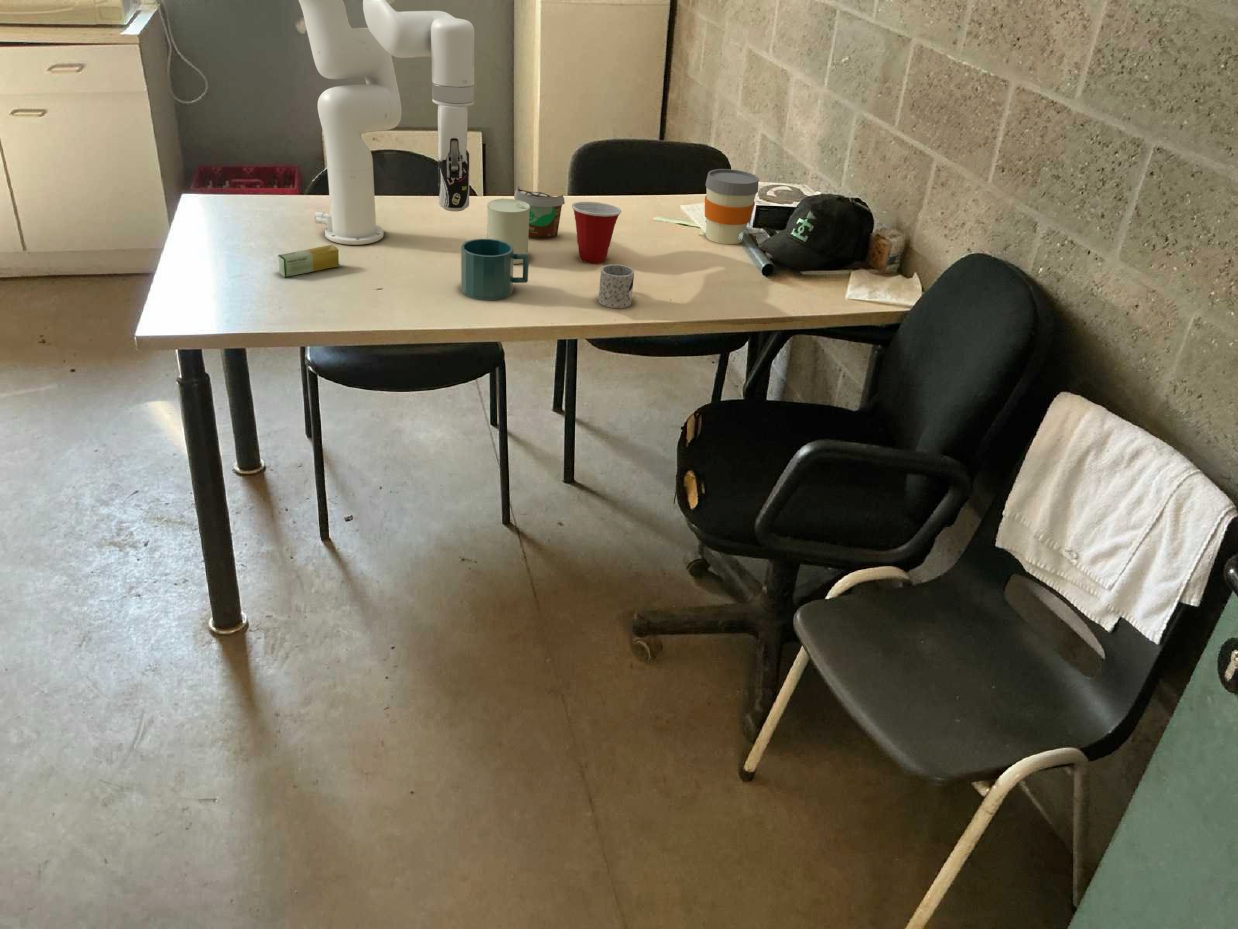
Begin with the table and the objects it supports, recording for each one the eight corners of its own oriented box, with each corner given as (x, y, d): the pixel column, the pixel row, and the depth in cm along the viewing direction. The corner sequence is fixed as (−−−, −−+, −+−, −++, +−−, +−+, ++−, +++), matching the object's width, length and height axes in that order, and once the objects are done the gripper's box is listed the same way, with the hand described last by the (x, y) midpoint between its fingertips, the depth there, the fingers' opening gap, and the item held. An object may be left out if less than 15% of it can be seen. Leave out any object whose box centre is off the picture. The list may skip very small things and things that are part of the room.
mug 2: (635, 307, 194) (638, 276, 190) (603, 308, 192) (606, 276, 188) (621, 288, 202) (623, 258, 198) (590, 289, 200) (592, 258, 196)
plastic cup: (625, 257, 218) (629, 204, 212) (604, 271, 209) (608, 217, 203) (582, 247, 221) (585, 195, 215) (560, 260, 213) (562, 206, 207)
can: (521, 267, 208) (523, 212, 201) (480, 260, 209) (481, 205, 202) (533, 253, 215) (535, 199, 209) (493, 247, 216) (494, 194, 210)
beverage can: (443, 213, 182) (442, 148, 175) (435, 203, 186) (434, 140, 180) (472, 212, 184) (472, 148, 177) (464, 202, 188) (464, 139, 182)
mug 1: (462, 300, 190) (462, 256, 185) (459, 280, 198) (459, 238, 193) (530, 300, 192) (531, 257, 188) (524, 281, 201) (526, 239, 196)
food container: (503, 233, 225) (504, 191, 219) (515, 226, 230) (517, 184, 224) (551, 244, 221) (553, 201, 216) (563, 237, 226) (565, 194, 221)
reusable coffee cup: (725, 250, 228) (734, 186, 220) (688, 234, 236) (695, 172, 228) (760, 241, 235) (770, 179, 227) (723, 226, 243) (732, 166, 235)
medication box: (284, 278, 192) (282, 259, 189) (278, 272, 193) (276, 254, 191) (340, 266, 199) (339, 248, 196) (333, 261, 200) (332, 243, 198)
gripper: (431, 83, 180) (433, 182, 190) (432, 102, 167) (434, 207, 176) (472, 85, 182) (472, 183, 191) (476, 104, 168) (476, 209, 178)
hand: (454, 194), depth 184 cm, fingers closed on beverage can, 3 cm apart
